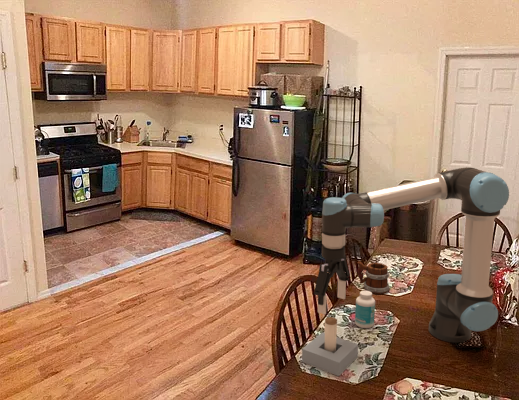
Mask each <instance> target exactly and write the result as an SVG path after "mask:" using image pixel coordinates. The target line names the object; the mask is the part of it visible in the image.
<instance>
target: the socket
mask: <svg viewBox="0 0 519 400" xmlns="http://www.w3.org/2000/svg"><path fill="white" fill-rule="evenodd" d="M324 345H325V331H323V332H321V333H320V334H318V335H317V336H316V337H315V338H314V339H312V340H311V341H310V342H309V343H308V344H307V345H305V346H304V347H303V348H302V349H301V362H302V363H303V364H307V365H309V366H312V367H313V368H317V369H319V370H322V371H324V372H326V373H329V374H332V375H335V376H336V377H340V376H341V374H343V373H344V371H346V369H347V368H348V367H349V366H350V365H351V364H353V362H354V361H355V360H356V359H357V358H358V355H359V354H358V353H359V351H358V350H359V344H358V343H356V342H353V341H350V340H348V339H344V338H341V337H338V336H337V339H336V352H335V353H332V352H329V351H327V350H324Z"/></svg>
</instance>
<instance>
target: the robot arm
mask: <svg viewBox="0 0 519 400" xmlns="http://www.w3.org/2000/svg"><path fill="white" fill-rule="evenodd" d="M435 199H440V200H441V201H443V200H449V199H451V200H455V199H456V200H460V201H461V207H460V212H461V214H462V215H464V217H465V220H464V221H465V222H464V234H463V250H462V251H463V252H462V264H461V274H459V273H444V274H441V275H439V277H438V279H437V282H436V283H437V284H436V297H435V306H434V313H433V315H432V317H431V318H430V321H429V322H428V323H429V324H428V332H429V333H430V335H431V336H433V337H435V338H436V339H438V340H441V341H444V342H446V343H447V342H448V343H452V344H455V343H456V344H457V342H462V343H465V342H464V341H466V342H468V341H470V340H469V339H471V338H472V332H483V331H486V330H488V329H490V328H491V327H492V326H493V325H495V324H496V322H497V320H498V318H499V311H498V308H497V306H496V305H495V303H493V296H494V292H493V289H492V287H490V286H489V284H490V271H491V262H492V261H491V259H492V249H493V238H494V229H495V227H494V225H495V219H497V218H498V217H499V216H500V215H501V210H502V209H504V206H506V205H507V203H508V201H509V199H510V188H509V186H508V184H507V182H506V181H505V180H504V179H503V178H502V177H500V176H498V175H497V174H496V173H493V172H488V171H484V170H481V169H477V168H475V167H469V166H466V167H459V168H455V169H451V170H445V171H442V172H437V173H435V174H434V176H433V177H427V178H424V179H419V180H414V181H411V182H410V181H409V182H405V183H401V184H396V185H392V186H388V187H384V188H379V189H375V190H371V191H366V192H360V193H354V192H347V193H345V194H344V195H342V197H336V196H335V197H334V196H333V197H327V198H325V199H324V200H323V202H322V211H321V212H322V213H321V215H322V216H321V217H322V219H321V220H322V221H321V222H322V228H321V230H322V233H321V244H322V245H321V257H322V258H324V264H321V263H320V264H319V266H318V267H319V269H318V275H317V277H316V278H317V279H316V283H315V287H314V291H313V295H315V296H317V313H319V314H323V315H326V314H327V294H326V292H327V290H328V286H329V284H330V281H331V279H332V278H333V277H334V275H335V274H336V275H337V277H338V279H337V298H338V299H342V300H346V291H347V290H346V289H347V287H346V286H347V282H348V281H350V275H351V274H350V271H349V267H348V263H347V255H346V232H347V231H346V229H347V228H349V229H350V228H376V227H380V226H382V225H383V224H384V220H385V211H387V210H390V209H395V208H399V207H403V206H405V207H406V206H409V205H413V204H416V203H417V204H418V203H422V202H426V201H431V200H435ZM467 340H468V341H467Z"/></svg>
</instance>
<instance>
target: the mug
mask: <svg viewBox="0 0 519 400" xmlns="http://www.w3.org/2000/svg"><path fill="white" fill-rule="evenodd" d="M363 263H364V262H361V261H359V260H358V262H357V265H358V268H357V276H358V278H359V279H358V280H359V284H361V285H363V287H364V291H370V292H372V295H385V294H388V292H389V290H390V284H389V282H388V279H389V277H390V272H389V271H388V265H387V264H385V263H381V262H371V263H368V265H365V264H363ZM364 271H365V272H364ZM363 272H364V273H363ZM364 274H365V275H364ZM364 276H366V277H364Z"/></svg>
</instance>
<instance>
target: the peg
mask: <svg viewBox="0 0 519 400" xmlns="http://www.w3.org/2000/svg"><path fill="white" fill-rule="evenodd" d="M337 329H338V319H337V318H335V317H333V316H328V317H326V318H325V319H324V333H325V345H324V350H327V351H329V352H332V353H335V352H336V339H337V337H338V336H337V333H338V332H337V331H338V330H337Z"/></svg>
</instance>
